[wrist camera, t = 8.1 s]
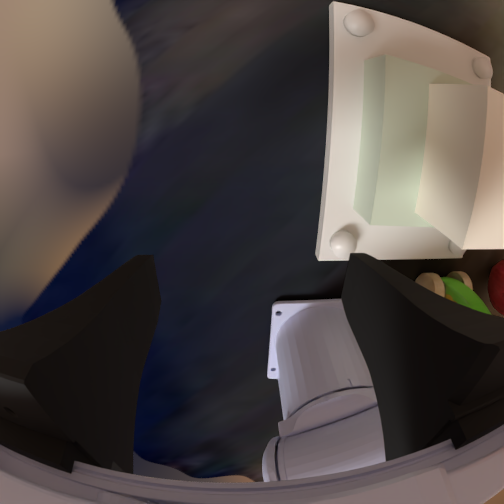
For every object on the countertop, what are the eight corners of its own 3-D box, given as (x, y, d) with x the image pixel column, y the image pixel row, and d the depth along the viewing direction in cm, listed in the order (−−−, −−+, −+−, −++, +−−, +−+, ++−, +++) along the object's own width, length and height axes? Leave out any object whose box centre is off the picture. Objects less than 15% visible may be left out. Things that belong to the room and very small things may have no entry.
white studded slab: (456, 252, 22) (481, 275, 19) (315, 254, 22) (329, 284, 18) (482, 58, 14) (515, 58, 10) (329, 5, 13) (349, -15, 10)
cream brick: (458, 215, 16) (505, 249, 12) (414, 212, 16) (462, 249, 12) (474, 100, 13) (530, 109, 8) (428, 83, 12) (487, 85, 8)
